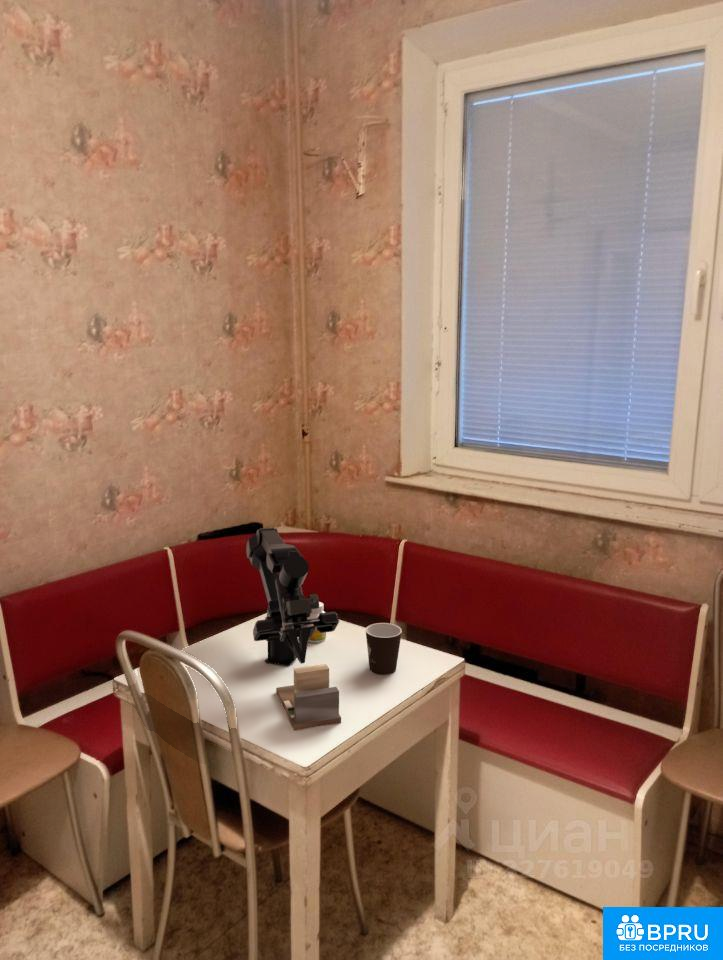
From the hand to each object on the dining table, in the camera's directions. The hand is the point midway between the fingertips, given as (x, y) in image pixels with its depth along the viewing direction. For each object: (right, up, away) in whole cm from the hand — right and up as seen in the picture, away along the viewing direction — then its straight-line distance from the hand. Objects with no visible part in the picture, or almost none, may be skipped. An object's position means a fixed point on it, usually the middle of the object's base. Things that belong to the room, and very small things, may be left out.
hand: (302, 662), depth 157 cm
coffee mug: (+18, -6, +18) cm, 26 cm away
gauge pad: (+1, -8, -5) cm, 10 cm away
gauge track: (+1, -9, -1) cm, 9 cm away
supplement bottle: (+1, -2, +33) cm, 33 cm away
